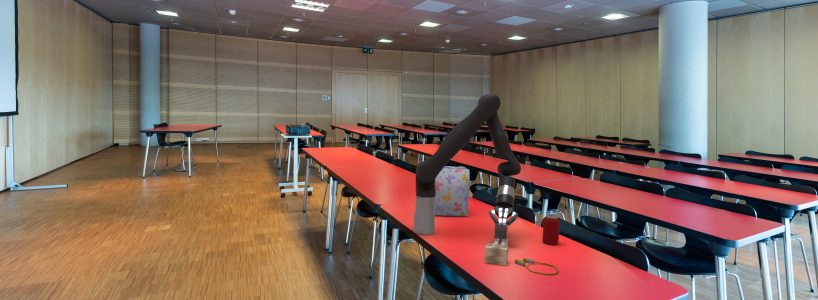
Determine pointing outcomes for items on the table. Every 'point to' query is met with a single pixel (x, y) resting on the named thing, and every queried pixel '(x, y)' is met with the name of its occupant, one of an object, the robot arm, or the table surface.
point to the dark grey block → (500, 232)
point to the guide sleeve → (504, 242)
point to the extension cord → (534, 264)
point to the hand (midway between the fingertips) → (501, 232)
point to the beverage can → (551, 229)
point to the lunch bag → (452, 191)
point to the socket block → (496, 254)
